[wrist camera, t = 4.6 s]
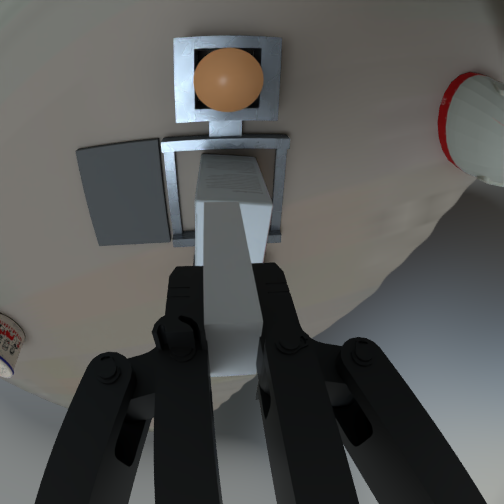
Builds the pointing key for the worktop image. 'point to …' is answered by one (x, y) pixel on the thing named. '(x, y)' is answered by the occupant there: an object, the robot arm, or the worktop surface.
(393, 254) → the worktop surface
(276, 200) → the housing
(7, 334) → the teacup with lid
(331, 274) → the worktop surface
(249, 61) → the plunger
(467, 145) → the white red kettle
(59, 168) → the worktop surface
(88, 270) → the worktop surface
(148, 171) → the mat
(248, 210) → the small box
